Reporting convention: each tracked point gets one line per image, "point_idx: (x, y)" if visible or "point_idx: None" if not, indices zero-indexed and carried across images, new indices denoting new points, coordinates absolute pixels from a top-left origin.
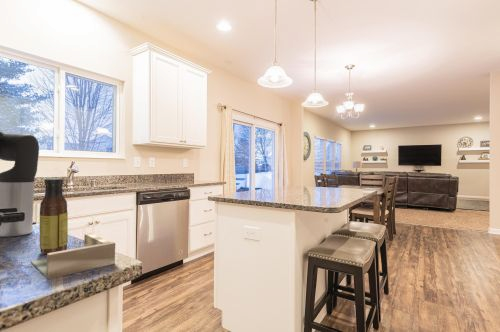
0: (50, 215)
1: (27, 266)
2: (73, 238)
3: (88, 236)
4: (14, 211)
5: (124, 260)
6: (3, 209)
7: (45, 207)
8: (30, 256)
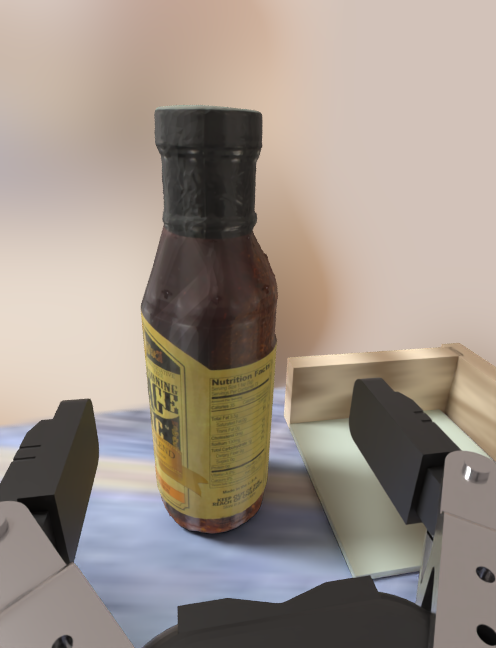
0: (271, 345)
1: (414, 598)
2: None
3: (330, 367)
4: (90, 431)
5: None
6: (70, 466)
7: (262, 311)
8: (233, 579)
